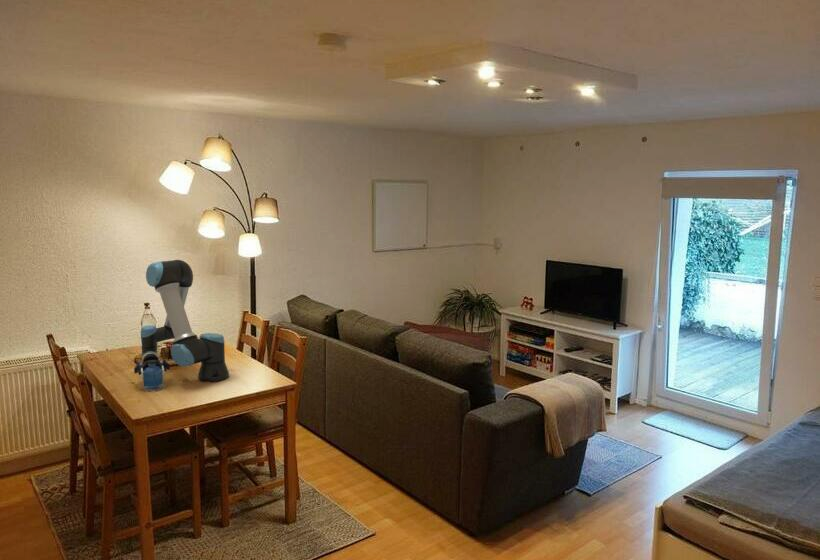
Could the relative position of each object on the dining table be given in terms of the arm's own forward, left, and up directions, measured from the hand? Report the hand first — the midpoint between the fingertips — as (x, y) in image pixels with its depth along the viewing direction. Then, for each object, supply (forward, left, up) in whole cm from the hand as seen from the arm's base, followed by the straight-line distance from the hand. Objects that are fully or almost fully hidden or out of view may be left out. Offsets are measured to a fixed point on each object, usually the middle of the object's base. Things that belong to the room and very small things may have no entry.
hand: (153, 373), depth 283 cm
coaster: (+3, -3, -9) cm, 10 cm away
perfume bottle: (+3, -3, -7) cm, 9 cm away
